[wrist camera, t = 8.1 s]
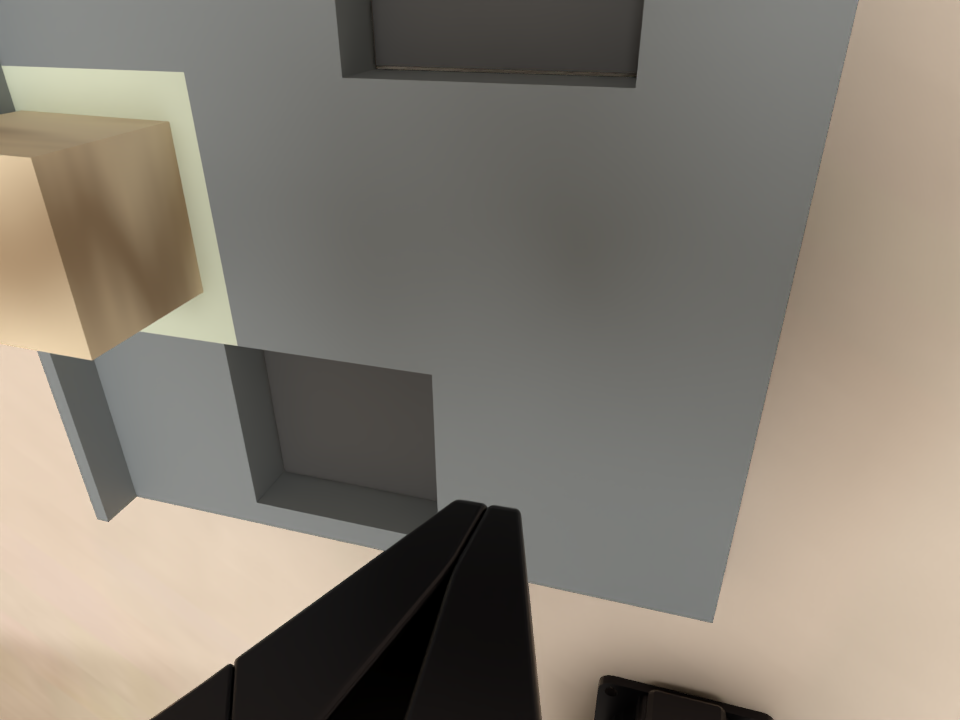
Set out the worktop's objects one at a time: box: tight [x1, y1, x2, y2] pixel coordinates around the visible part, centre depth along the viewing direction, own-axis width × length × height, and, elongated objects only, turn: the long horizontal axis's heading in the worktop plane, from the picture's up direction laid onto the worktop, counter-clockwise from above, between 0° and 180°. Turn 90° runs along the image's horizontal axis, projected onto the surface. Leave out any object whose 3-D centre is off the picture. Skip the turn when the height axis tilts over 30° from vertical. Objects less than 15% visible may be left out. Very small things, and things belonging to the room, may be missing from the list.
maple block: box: [0, 110, 203, 360], centre depth 18 cm, size 5×5×4 cm
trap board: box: [0, 0, 859, 623], centre depth 19 cm, size 22×23×4 cm
